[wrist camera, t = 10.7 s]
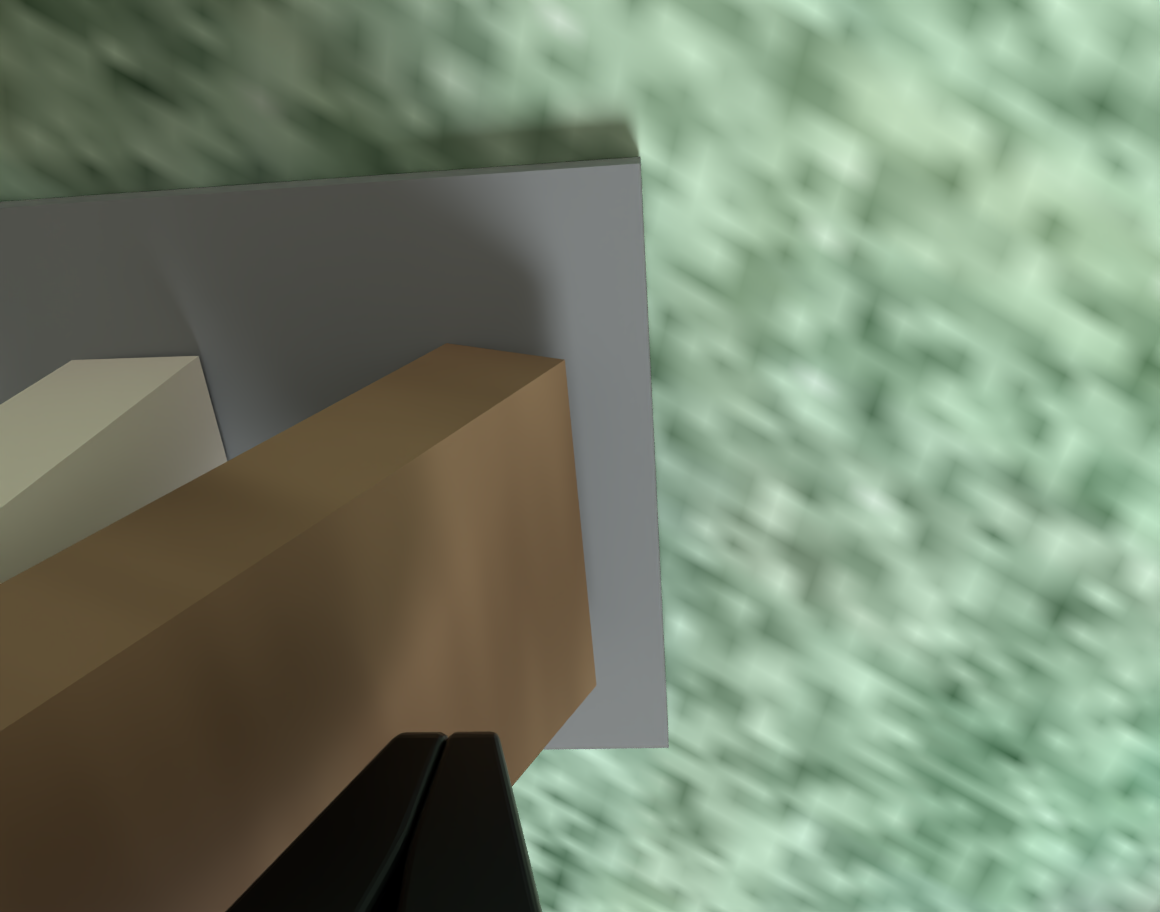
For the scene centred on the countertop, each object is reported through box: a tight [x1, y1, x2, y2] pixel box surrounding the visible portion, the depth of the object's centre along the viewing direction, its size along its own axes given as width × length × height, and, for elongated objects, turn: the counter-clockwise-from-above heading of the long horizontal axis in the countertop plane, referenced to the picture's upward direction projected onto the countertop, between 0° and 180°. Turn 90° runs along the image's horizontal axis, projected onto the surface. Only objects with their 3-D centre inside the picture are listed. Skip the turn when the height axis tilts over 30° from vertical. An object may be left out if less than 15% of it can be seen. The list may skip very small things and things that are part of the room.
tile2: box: [0, 356, 227, 584], centre depth 9 cm, size 4×2×7 cm, turn 4°
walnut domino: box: [0, 343, 596, 912], centre depth 9 cm, size 4×2×7 cm, turn 5°
